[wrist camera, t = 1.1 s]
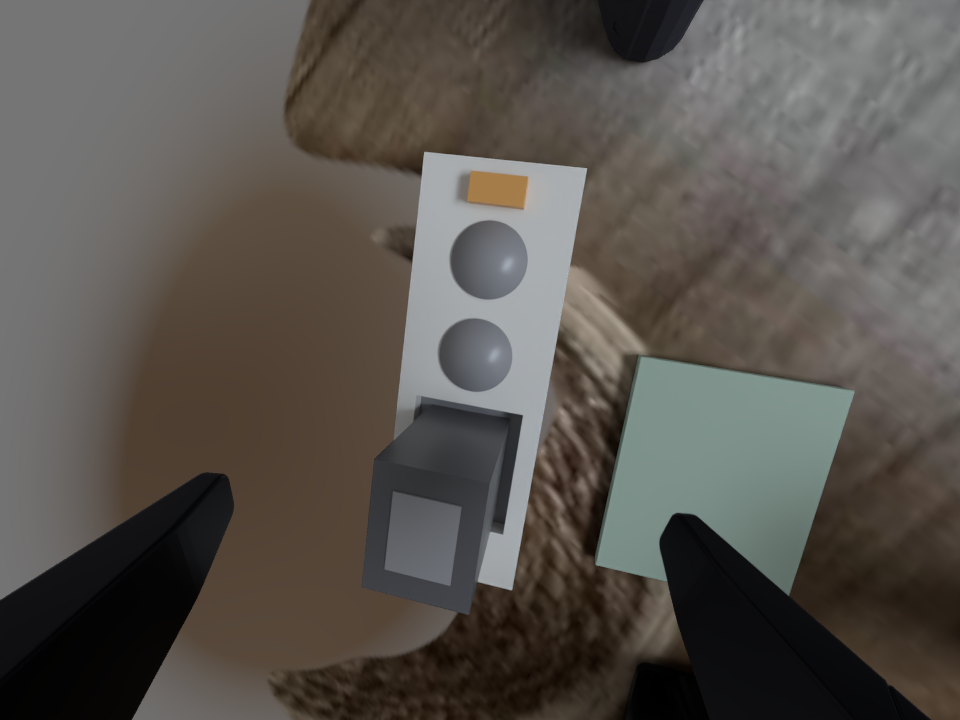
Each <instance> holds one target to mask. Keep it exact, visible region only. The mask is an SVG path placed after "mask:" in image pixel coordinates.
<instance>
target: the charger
mask: <svg viewBox="0 0 960 720" xmlns="http://www.w3.org/2000/svg"><path fill="white" fill-rule="evenodd" d="M509 424H510V419H508V418H503V417H497V416H492V415H487V414H481V413H476V412H471V411H466V410H460V409H455V408H450V407H445V406H439V405H434V404H432V405H431V406H430V407H429V408H428V409H426V410H425V411H424V412H423V413H422V414H421V415H420V416H419V417H418V418H417V419H416V420H415V421H414V422H413V423H412V424H411V425H410V426H409V427H407V428H406V429H405V430H404V431H403V432H402V433H401V434H400V435H399V436H398V437H397V438H396V439H395V440H394V441H393V442H392V443H391V444H390V445H389V446H387V447H386V449H384V450H383V451H382V452H381V453H380V454H379V455H378V456H377V457H376V458H375V459H374V468H373V478H372V489H371V498H370V509H369V519H368V528H367V538H366V549H365V558H364V569H363V579H362V587H363V588H367V589H371V590H375V591H379V592H382V593H386V594H390V595H394V596H398V597H402V598H405V599H409V600H413V601H417V602H421V603H425V604H428V605H433V606H436V607H440V608H444V609H448V610H452V611H455V612H459V613H463V614H467V615H469V613H470V609H471V605H472V602H473V598H474V594H475V590H476V586H477V582H478V578H479V574H480V570H481V566H482V562H483V558H484V554H485V550H486V546H487V542H488V538H489V535H490V531H491V527H492V523H493V519H494V515H495V511H496V505H497V498H498V492H499V486H500V480H501V474H502V468H503V461H504V455H505V449H506V443H507V437H508V431H509Z"/></svg>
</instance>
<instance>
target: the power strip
mask: <svg viewBox="0 0 960 720" xmlns="http://www.w3.org/2000/svg"><path fill="white" fill-rule="evenodd" d="M586 172H587V168H578V167H568V166H558V165H548V164H538V163H528V162H519V161H509V160H499V159H489V158H479V157H469V156H459V155H449V154H440V153H430V152H424V160H423V169H422V179H421V188H420V197H419V206H418V216H417V225H416V234H415V244H414V253H413V262H412V271H411V281H410V290H409V299H408V308H407V318H406V327H405V336H404V346H403V355H402V364H401V373H400V383H399V393H398V401H397V411H396V420H395V429H394V438H393V441H394V440H395V439H396V438H397V437H398V436H399V435H400V434H401V433H402V432H403V431H404V430H405V429H406V428H407V427H409V426H410V425H411V424H412V423H413V422H414V421H415V420H416V419H417V418H418V417H419V416H420V415H421V414H422V413H423V412H424V411H425V410H426V409H428V408H429V407H430V406H431V405H432V404H434V405H439V406H445V407H450V408H455V409H460V410H466V411H471V412H476V413H481V414H487V415H492V416H497V417H503V418H508V419H510V424H509V431H508V437H507V443H506V449H505V455H504V461H503V468H502V474H501V480H500V486H499V492H498V498H497V505H496V511H495V515H494V519H493V523H492V527H491V531H490V535H489V538H488V542H487V546H486V550H485V554H484V558H483V562H482V566H481V570H480V574H479V578H478V582H480V583H484V584H488V585H492V586H496V587H500V588H504V589H508V590H512V588H513V582H514V577H515V571H516V565H517V560H518V554H519V549H520V543H521V537H522V532H523V526H524V520H525V515H526V509H527V504H528V498H529V492H530V487H531V481H532V475H533V470H534V464H535V459H536V453H537V447H538V441H539V436H540V430H541V424H542V419H543V413H544V408H545V402H546V397H547V391H548V385H549V380H550V374H551V369H552V363H553V357H554V352H555V346H556V340H557V335H558V329H559V324H560V318H561V312H562V307H563V301H564V295H565V290H566V284H567V279H568V273H569V267H570V262H571V256H572V250H573V245H574V239H575V233H576V228H577V222H578V217H579V211H580V205H581V200H582V194H583V188H584V183H585V177H586Z"/></svg>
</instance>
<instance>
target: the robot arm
mask: <svg viewBox="0 0 960 720" xmlns="http://www.w3.org/2000/svg"><path fill="white" fill-rule="evenodd" d="M233 510H234V501H233V496H232V491H231V487H230V482H229V479H228V477H227V476H226V475H225V474H220V473H209V472H206V473H202V474H200V475H198V476H196V477H194V478H193V479H191V480H190V481H188V482H186V483H185V484H183V485H182V486H180V487H178V488H177V489H175V490H174V491H172V492H171V493H169V494H167V495H166V496H164V497H163V498H161V499H160V500H158V501H156V502H155V503H153V504H152V505H150V506H148V507H147V508H145V509H144V510H142V511H140V512H139V513H137V514H136V515H134V516H133V517H131V518H129V519H128V520H126V521H125V522H123V523H121V524H120V525H118V526H117V527H115V528H113V529H112V530H110V531H109V532H107V533H106V534H104V535H102V536H101V537H99V538H98V539H96V540H95V541H93V542H91V543H90V544H88V545H87V546H85V547H83V548H82V549H80V550H79V551H77V552H75V553H74V554H72V555H71V556H69V557H68V558H66V559H64V560H63V561H61V562H60V563H58V564H56V565H55V566H53V567H52V568H50V569H48V570H47V571H45V572H44V573H42V574H41V575H39V576H38V577H36V578H34V579H33V580H31V581H30V582H28V583H26V584H25V585H23V586H22V587H20V588H18V589H17V590H15V591H14V592H12V593H11V594H9V595H7V596H6V597H4V598H3V599H1V600H0V720H132V718H133V717H134V715H135V713H136V711H137V709H138V707H139V705H140V704H141V701H142V700H143V698H144V696H145V694H146V692H147V691H148V689H149V687H150V685H151V683H152V681H153V679H154V677H155V676H156V674H157V672H158V670H159V668H160V666H161V665H162V663H163V661H164V659H165V657H166V655H167V653H168V652H169V650H170V648H171V646H172V644H173V642H174V641H175V639H176V637H177V635H178V633H179V631H180V629H181V628H182V625H183V624H184V622H185V620H186V618H187V616H188V614H189V613H190V611H191V609H192V607H193V605H194V603H195V601H196V599H197V597H198V595H199V593H200V591H201V588H202V586H203V584H204V582H205V579H206V577H207V574H208V572H209V570H210V567H211V565H212V562H213V560H214V558H215V555H216V553H217V550H218V548H219V546H220V543H221V541H222V538H223V536H224V534H225V531H226V529H227V526H228V524H229V522H230V519H231V517H232V514H233ZM659 548H660V553H661V557H662V561H663V565H664V569H665V574H666V578H667V582H668V586H669V590H670V595H671V599H672V603H673V607H674V611H675V615H676V619H677V623H678V626H679V629H680V632H681V636H682V639H683V642H684V645H685V647H686V650H687V653H688V656H689V659H690V662H691V665H692V668H693V671H694V674H695V676H694V675H690V674H687V673H683V672H679V671H675V670H671V669H667V668H664V667H660V666H656V665H652V664H648V663H641V664H639V665H638V666H637V667H636V670H635V674H634V678H633V682H632V686H631V690H630V693H629V697H628V701H627V705H626V709H625V713H624V717H623V720H931V719H930V718H929V717H927V716H926V715H925V714H924V713H923V712H921V711H920V710H919V709H918V708H917V707H916V706H915V705H913V704H912V703H911V702H910V701H909V700H908V699H907V698H905V697H904V696H903V695H902V694H901V693H900V692H899V691H897V690H896V689H895V688H894V687H893V686H891V685H888V684H887V682H886V680H885V679H883V678H882V677H881V676H880V675H879V674H878V673H877V672H875V671H874V670H873V669H872V668H871V667H870V666H869V665H867V664H866V663H865V662H864V661H863V660H862V659H860V658H859V657H858V656H857V655H856V654H855V653H854V652H852V651H851V650H850V649H849V648H848V647H847V646H846V645H844V644H843V643H842V642H841V641H840V640H839V639H838V638H836V637H835V636H834V635H833V634H832V633H831V632H830V631H828V630H827V629H826V628H825V627H824V626H823V625H822V624H820V623H819V622H818V621H817V620H816V619H815V618H813V617H812V616H811V615H810V614H809V613H808V612H807V611H805V610H804V609H803V608H802V607H801V606H800V605H799V604H797V603H796V602H795V601H794V600H793V599H792V598H791V597H789V596H788V595H787V594H786V593H785V592H784V591H783V590H781V589H780V588H779V587H778V586H777V585H776V584H775V583H773V582H772V581H771V580H770V579H769V578H768V577H767V576H765V575H764V574H763V573H762V572H761V571H760V570H758V569H757V568H756V567H755V566H754V565H753V564H752V563H750V562H749V561H748V560H747V559H746V558H745V557H744V556H742V555H741V554H740V553H739V552H738V551H737V550H736V549H734V548H733V547H732V546H731V545H730V544H729V543H728V542H726V541H725V540H724V539H723V538H722V537H721V536H720V535H718V534H717V533H716V532H715V531H714V530H713V529H711V528H710V527H709V526H708V525H707V524H706V523H705V522H703V521H702V520H701V519H700V518H699V517H698V516H696V515H694V514H689V513H675V514H673V515H672V516H671V518H670V520H669V521H668V523H667V525H666V527H665V529H664V531H663V532H662V534H661V536H660V540H659ZM643 674H649V675H643Z"/></svg>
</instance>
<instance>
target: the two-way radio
mask: <svg viewBox="0 0 960 720" xmlns="http://www.w3.org/2000/svg"><path fill="white" fill-rule="evenodd" d="M702 2H703V0H599V5H600V10H601V15H602V19H603V23H604V26H605V30H606V33H607V36H608V39H609V42H610V43H611V45H612V47H613V48H614V50H615V51H616V52H617V53H618V54H620V55H621V56H622V57H623V58H630V59H633V60H637V61H640V62H646V61H651V60H655V59H658V58H660V57H662V56H663V55H665V54H666V53H668V52H670V51H671V50H673V49H674V47H675V46H676V45H677V44H678V43H679V42H680V40H681V39H682V38H683V36H684V34H685V32H686V30H687V28H688V27H689V25H690V23H691V21H692V19H693V18H694V16H695V14H696V12H697V11H698V9H699V7H700V5H701V4H702Z"/></svg>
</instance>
